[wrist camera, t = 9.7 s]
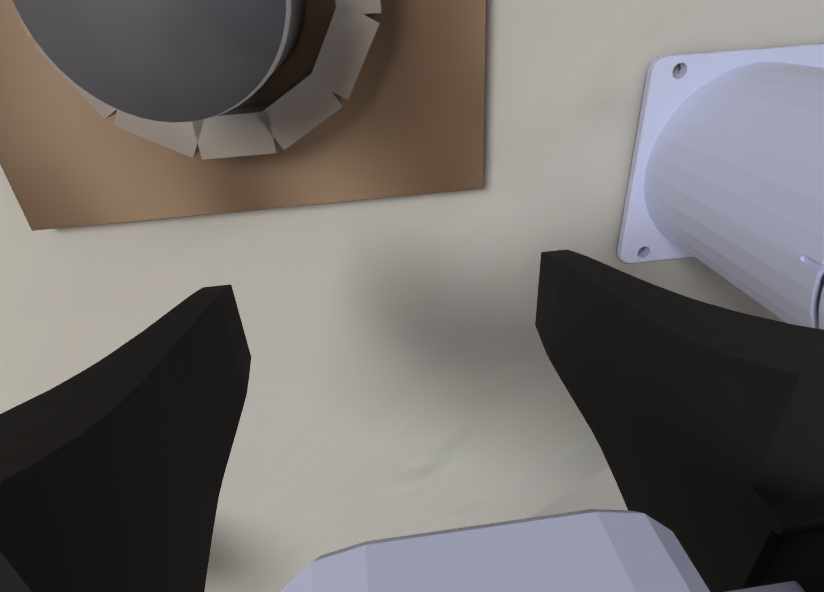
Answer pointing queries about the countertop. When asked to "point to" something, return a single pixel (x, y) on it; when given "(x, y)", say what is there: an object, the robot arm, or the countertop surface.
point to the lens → (167, 50)
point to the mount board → (260, 123)
